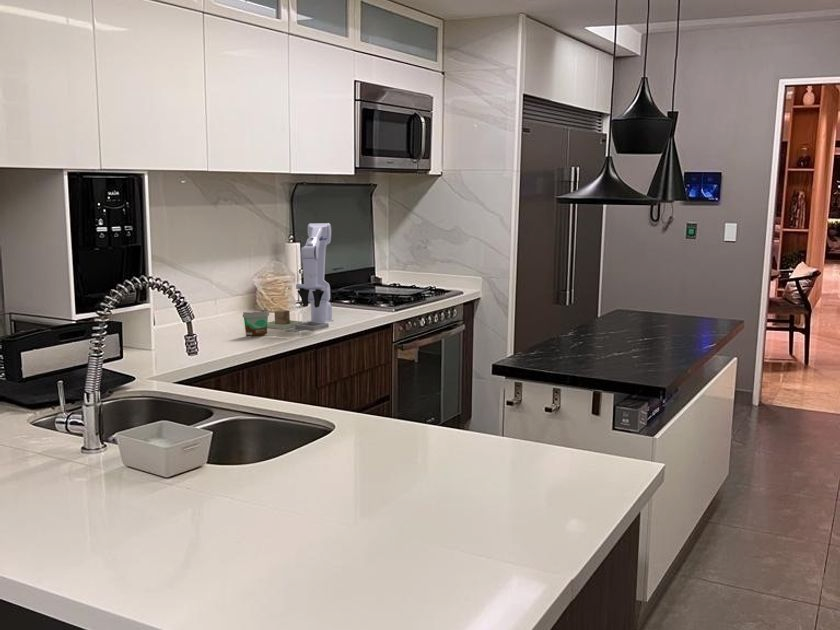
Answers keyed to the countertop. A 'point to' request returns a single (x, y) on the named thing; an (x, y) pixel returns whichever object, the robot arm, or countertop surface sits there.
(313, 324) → the grey tray
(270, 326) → the green tray
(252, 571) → the countertop surface
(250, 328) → the food container
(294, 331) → the slate coaster
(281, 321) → the walnut block
